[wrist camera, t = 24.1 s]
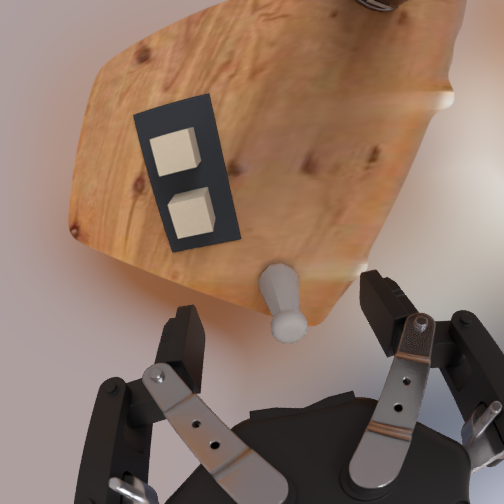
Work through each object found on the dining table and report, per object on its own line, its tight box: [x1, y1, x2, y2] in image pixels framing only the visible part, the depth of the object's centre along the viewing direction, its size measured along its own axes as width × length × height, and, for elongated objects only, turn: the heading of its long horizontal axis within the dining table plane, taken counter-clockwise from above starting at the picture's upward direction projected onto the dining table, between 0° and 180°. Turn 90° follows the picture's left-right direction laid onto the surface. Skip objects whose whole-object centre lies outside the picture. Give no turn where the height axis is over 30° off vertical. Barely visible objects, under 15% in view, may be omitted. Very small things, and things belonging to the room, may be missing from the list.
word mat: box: [133, 93, 241, 252], centre depth 36 cm, size 20×10×1 cm, turn 11°
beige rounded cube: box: [150, 127, 201, 177], centre depth 32 cm, size 4×5×4 cm
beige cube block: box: [168, 187, 215, 239], centre depth 35 cm, size 4×5×4 cm
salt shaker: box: [258, 263, 307, 343], centre depth 38 cm, size 6×6×13 cm
